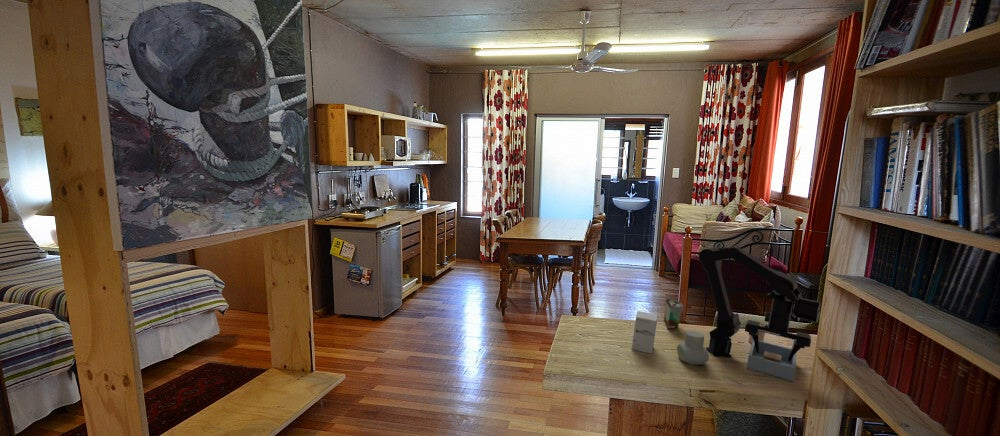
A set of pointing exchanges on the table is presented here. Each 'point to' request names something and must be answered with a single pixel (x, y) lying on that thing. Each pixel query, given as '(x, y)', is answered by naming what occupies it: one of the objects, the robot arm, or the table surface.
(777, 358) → the walnut cube
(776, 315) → the robot arm
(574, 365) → the table surface
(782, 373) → the tote
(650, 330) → the supplement box
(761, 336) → the terracotta capsule
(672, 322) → the food container
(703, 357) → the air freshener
